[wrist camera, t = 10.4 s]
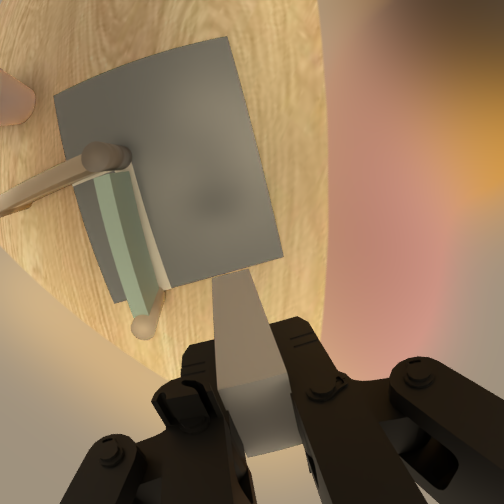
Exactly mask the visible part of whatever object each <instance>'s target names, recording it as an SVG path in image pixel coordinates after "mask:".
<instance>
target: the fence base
mask: <svg viewBox="0 0 504 504" xmlns="http://www.w3.org/2000/svg"><path fill="white" fill-rule="evenodd" d="M131 162H132V153H131V151H130V149H129V148H127V147H125V146H120V145H115V144H110V143H104V142H98V141H94V142H91V143H89V144H88V145H87V146H86V147H85V148H84V150H83V152H82V154H81V155H78V156H76V157H74V158H72V159H69V160H67V161H65V162H63V163H61V164H58V165H56V166H54V167H52V168H50V169H48V170H46V171H44V172H42V173H40V174H38V175H36V176H34V177H32V178H30V179H28V180H26V181H24V182H22V183H20V184H18V185H17V186H15V187H13V188H11V189H9V190H8V191H6V192H4V193H2V194H0V218H1V217H4V216H6V215H9V214H12V213H15V212H18V211H21V210H25V209H28V208H29V207H30V206H31V204H32V202H33V201H35V200H38V199H40V198H42V197H44V196H46V195H48V194H50V193H53V192H55V191H57V190H59V189H62V188H64V187H66V186H69V185H71V184H73V183H76V182H78V181H80V180H83V179H85V178H88V177H90V176H93V175H95V174H98V173H100V172H103V171H114V170H123V169H125V168H127V167H128V166H129V165H130V163H131Z"/></svg>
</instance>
